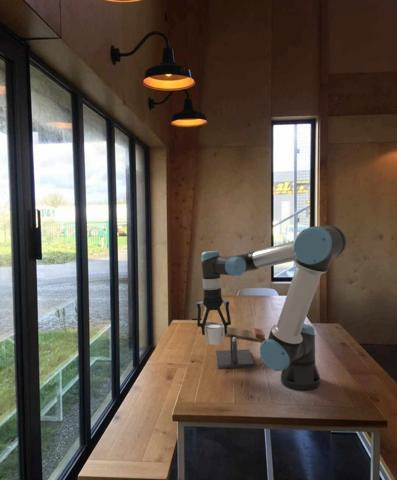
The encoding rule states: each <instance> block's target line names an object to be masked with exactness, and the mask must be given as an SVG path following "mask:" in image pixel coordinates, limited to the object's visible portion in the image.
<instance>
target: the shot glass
mask: <svg viewBox="0 0 397 480" xmlns="http://www.w3.org/2000/svg"><path fill="white" fill-rule="evenodd" d="M206 330H207V344H209V345H213V346H216V345H221V344H222V343H223V342H222V341H223V336H222V325H217V324H213V325H208V326H206Z"/></svg>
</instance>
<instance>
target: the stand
mask: <svg viewBox="0 0 397 480" xmlns="http://www.w3.org/2000/svg"><path fill="white" fill-rule="evenodd" d="M230 327H231V328H234V326H230ZM229 340H230V342H229V343H230V349H223V350H215V356H216V358H215V359H216V367H217V369H233V368H234V369H236V368H237V369H238V368H255V363H254V360H253V357H252V355H251V354H252V353H251V352H250V349H238V339H237V337H232V340H231V338H230V337H229Z"/></svg>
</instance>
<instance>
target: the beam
mask: <svg viewBox="0 0 397 480" xmlns="http://www.w3.org/2000/svg"><path fill="white" fill-rule="evenodd" d="M213 324H217V325H224V324H223V322H222V323H220V322H215V321H209V320H206V324H205V326H208V325H213ZM231 327H232V326H227V334H225V338H229V339H230V338H231V340H232V337H237V340H243V341H249V342H255V343H260V344H261V343H262V342H263V341H264V340H266V337H265V336H266V334H265V333H264V331H263V329H261V328H256V327H253V329H252V330H248V329H243V328H237V327H233V328H231ZM206 332H207V330H206ZM222 337H223V333H222Z"/></svg>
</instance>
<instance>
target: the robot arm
mask: <svg viewBox="0 0 397 480" xmlns="http://www.w3.org/2000/svg"><path fill="white" fill-rule="evenodd" d="M347 243H348V240H347V236H346V234H345V232H344V231H343V230H342V229H341V228H339V227H338V226H335V225H323V226H321V225H320V226H318V225H317V226H311V227H307V228H304V229H303V230H301V231H299V233H297V234H296V236H295V238H294V240H291V241H289V242H285V243H280V244H277V245H274V246H269V247H266V248H263V249H259V250H255V251H251V252H247V253H242V254H237V255H231V256H220V252H219V251H217V250H208V251H203V252H202V253H201V269H202V271H201V272H202V273H201V274H202V288H203V289H202V291H203V292H202V294H203V300H202V301H200V302H199V301H198V302H196V306H197V322H196V323H197V324H196V326H197V327H199V328H201V335H202V336H204V343H205V344H208V337H207V332H206V326H205V324H206V321H208V316H209V313H210V312H211V311H217V312H218V315H219V317H220V321H221V322H222V324H224V325H222V333H223V336H222V341H223V342H222V343H226V337H225V334H227V327H229V326H231V325H232V320H231V316H230V315H231V314H230V309H229V308H230V307H229V306H230V302H229V300H223V298H222V288H221V287H222V283H221V280H222V279H221V276H232V277H240V276H243V274H244V273H246V272H252V271H257V270H260V269H264V268H268V267H274V266H278V265H282V264H285V263H292V262H294V263H295V266H296V267H295V270H294V272H293V274H292V275H293V276H292V280H291V282H290V285H289V287H288V291H287V293H286V296H285V299H284V303H283V306H282V308H281V312H280V315H279V318H278V321H277V323H276V324H274V325H273V326H271V328H270V331H269V335H268V337H267V339H266V338H265V340H264V341H263V342H262V343H260V346H259V355H260V358H261V359H262V362H263V364H264V365H266V367H267V368H269V369H271V370H273V371H275V372H280V371H281V372H280V373H281V374H280V383H281V384H282V385H283V386H284V387H286V388H288V389H292V390H297V391H310V390H314V389H317V388H319V387H320V386H321V382H322V381H321V376H320V372H319V369H318V366H317V365H316V334H315V333H316V332H315V328H314V327H313V326H312V325H310V324H306V323H305V322H306V318H307V316H308V313H309V310H310V308H311V304H312V302H313V299H314V296H315V294H316V290H317V288H318V284H319V282H320V279H321V277H322V275H323V274H325V273H327V272H328V270H329V268H330V266H331V263H332V260H333V259H335V258H338V257H339V256H341V255H342V254H343V253H344V252H345V250H346V248H347ZM222 305H223V306H224V307H225V314H226V319H227V321H226V319H225V317H224V314H223V312H222V310H221V306H222ZM203 306H204V307H205V308H206V309H205V313H204V316H203V319H202V322H201V316H202V307H203Z"/></svg>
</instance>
